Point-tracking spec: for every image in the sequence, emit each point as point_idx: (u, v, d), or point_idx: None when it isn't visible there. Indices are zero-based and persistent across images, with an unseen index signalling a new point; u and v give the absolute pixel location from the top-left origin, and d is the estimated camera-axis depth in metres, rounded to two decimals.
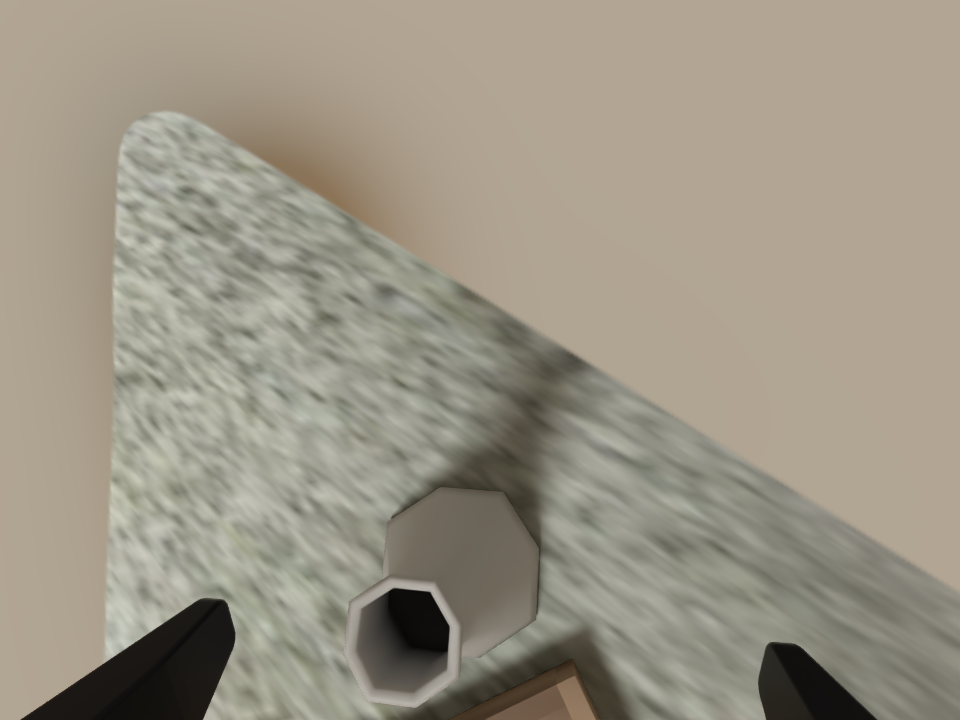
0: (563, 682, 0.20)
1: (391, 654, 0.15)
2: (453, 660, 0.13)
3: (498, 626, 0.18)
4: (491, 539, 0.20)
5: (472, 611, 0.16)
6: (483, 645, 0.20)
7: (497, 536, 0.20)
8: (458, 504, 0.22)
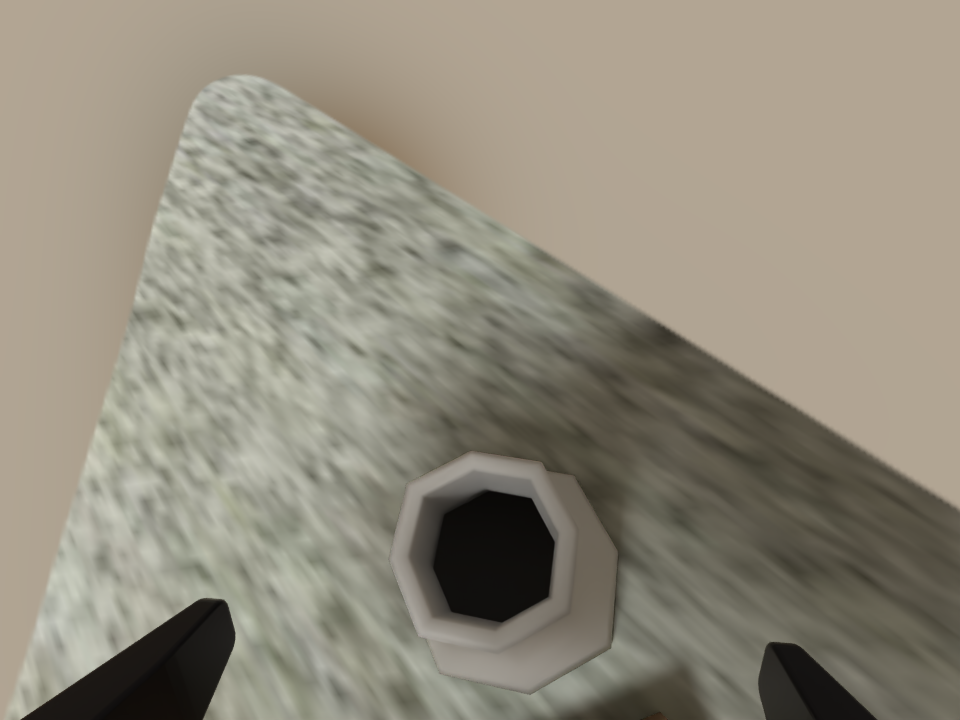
0: None
1: (446, 601, 0.10)
2: (564, 582, 0.08)
3: (580, 621, 0.13)
4: (569, 510, 0.15)
5: None
6: (547, 660, 0.14)
7: (576, 510, 0.15)
8: None
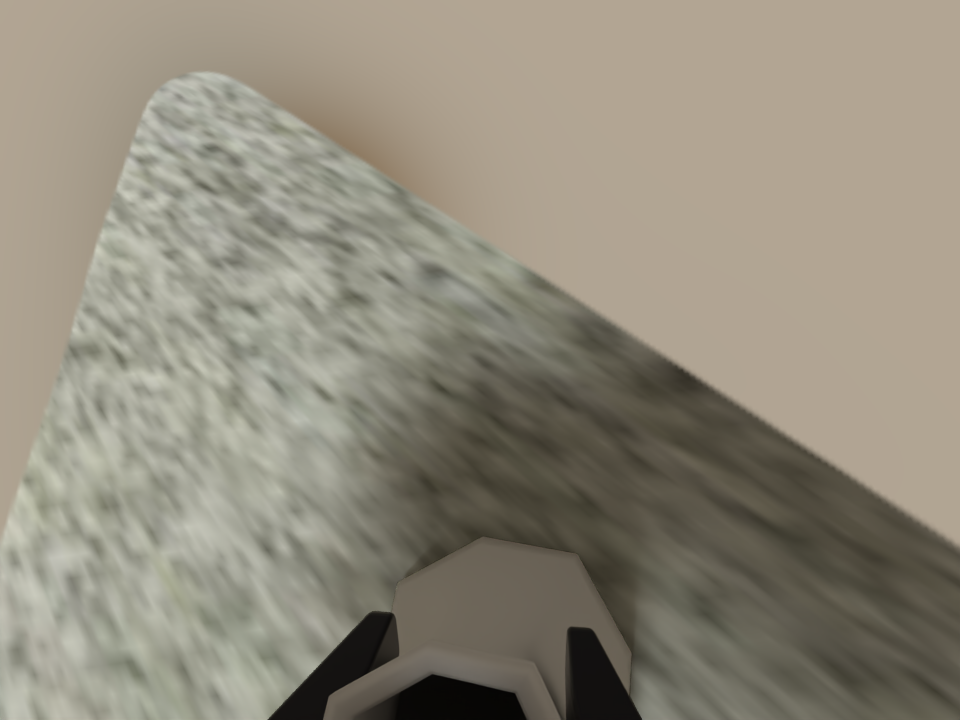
0: None
1: None
2: None
3: None
4: (573, 621, 0.12)
5: None
6: None
7: (580, 618, 0.12)
8: (514, 560, 0.14)
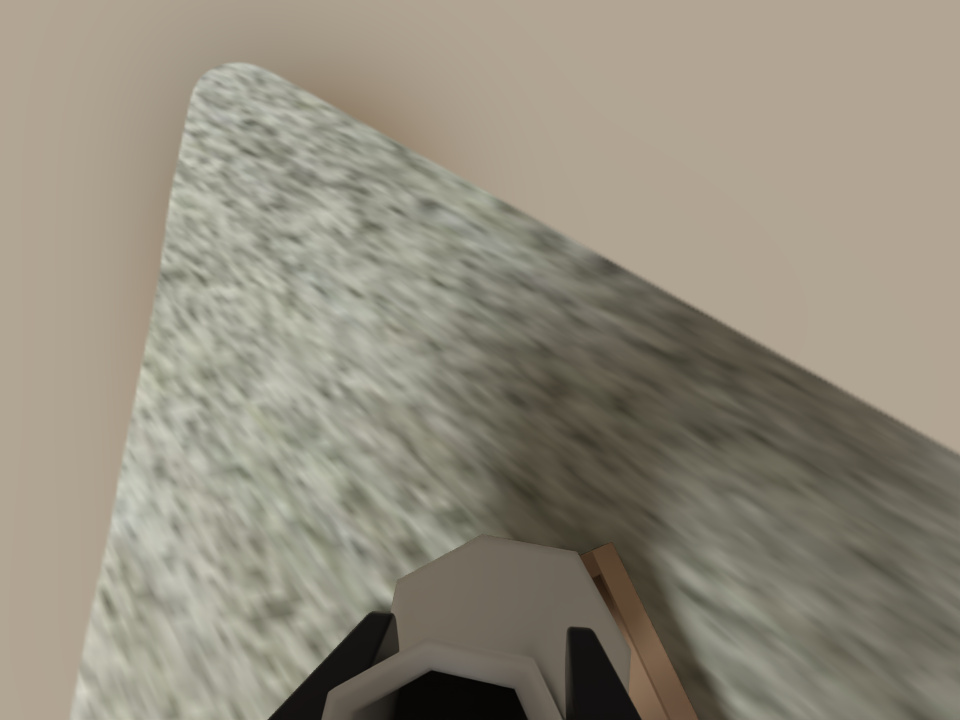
0: (599, 549, 0.19)
1: None
2: None
3: None
4: (572, 618, 0.12)
5: None
6: None
7: (580, 615, 0.12)
8: (514, 558, 0.14)
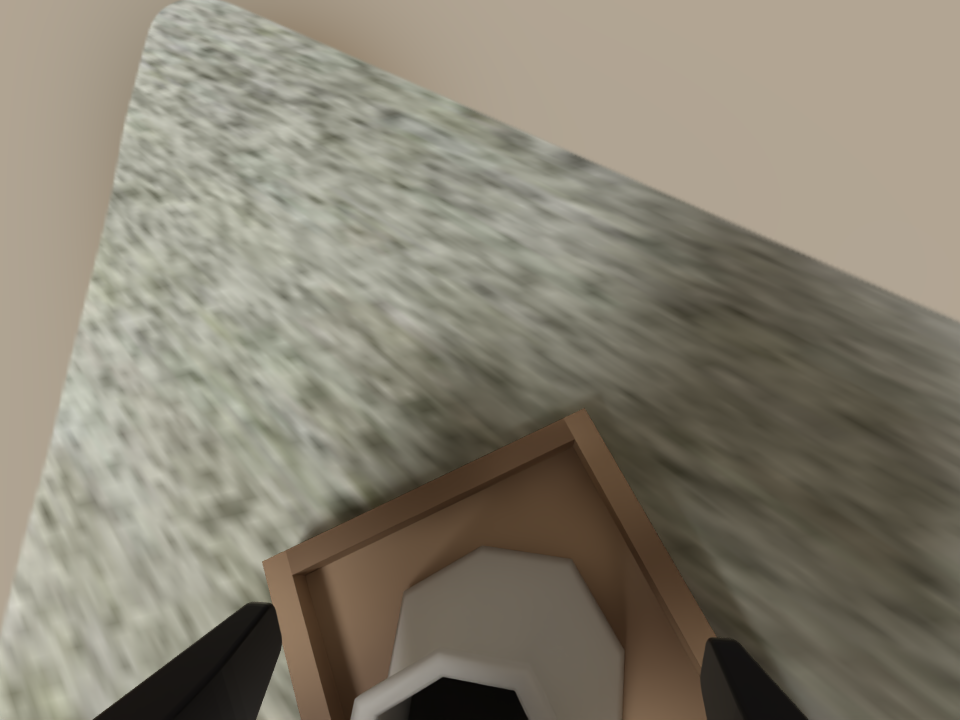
0: (571, 416, 0.17)
1: None
2: None
3: None
4: (568, 623, 0.13)
5: None
6: None
7: (575, 619, 0.13)
8: (513, 568, 0.15)
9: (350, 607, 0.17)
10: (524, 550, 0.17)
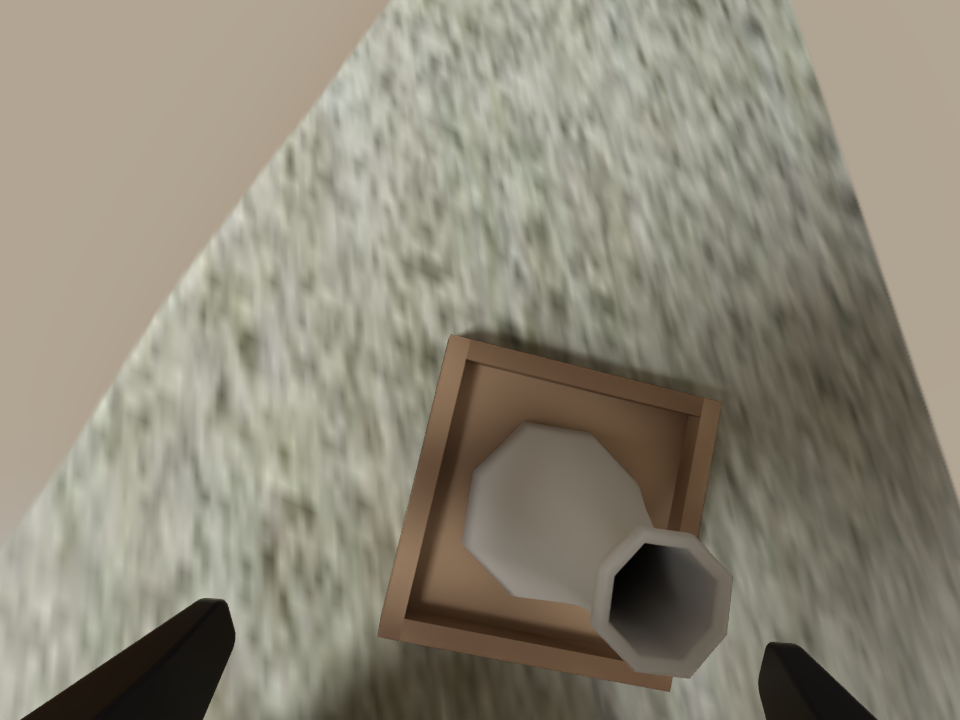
0: (709, 400, 0.21)
1: (582, 583, 0.13)
2: (698, 659, 0.11)
3: None
4: None
5: (648, 596, 0.14)
6: None
7: None
8: (616, 467, 0.20)
9: (480, 403, 0.21)
10: None
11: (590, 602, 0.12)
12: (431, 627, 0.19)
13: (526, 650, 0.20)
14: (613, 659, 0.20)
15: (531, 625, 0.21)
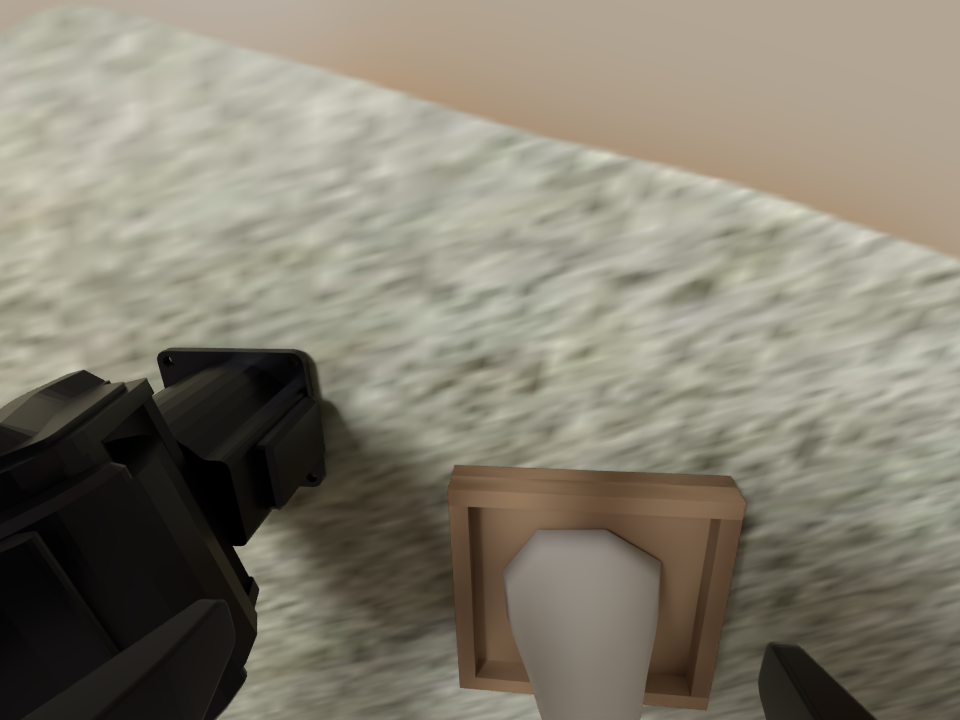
0: (706, 701, 0.24)
1: None
2: None
3: (534, 692, 0.20)
4: None
5: None
6: (519, 633, 0.21)
7: None
8: None
9: (671, 523, 0.22)
10: None
11: None
12: (465, 526, 0.22)
13: (465, 595, 0.23)
14: (474, 652, 0.24)
15: (480, 584, 0.24)
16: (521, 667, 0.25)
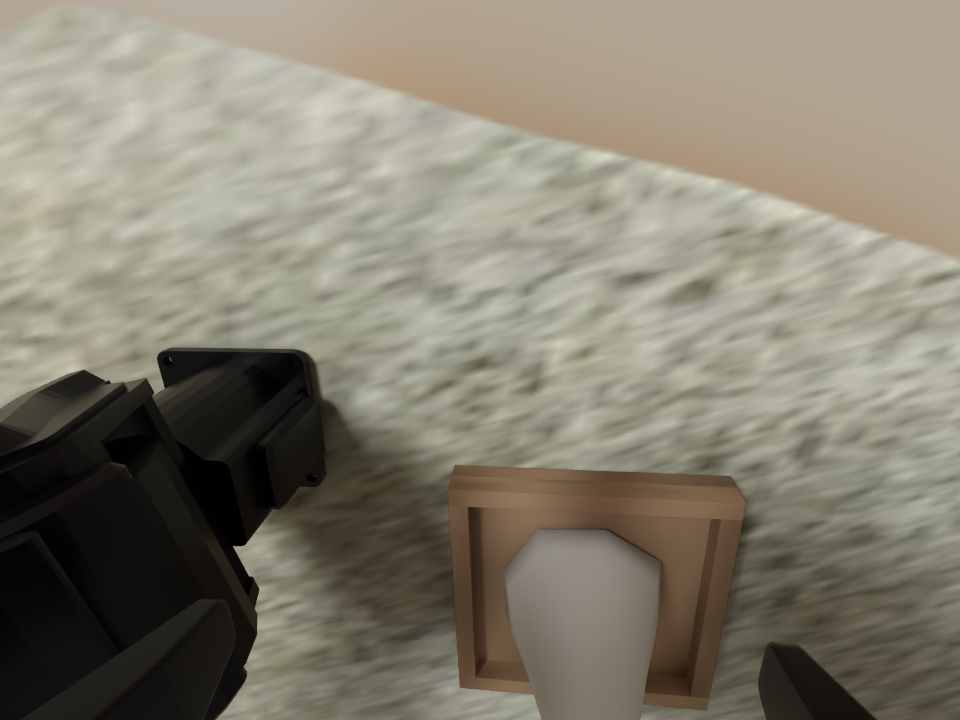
0: (706, 701, 0.24)
1: None
2: None
3: (534, 692, 0.20)
4: None
5: None
6: (519, 634, 0.21)
7: None
8: None
9: (671, 523, 0.22)
10: None
11: None
12: (465, 526, 0.22)
13: (465, 595, 0.23)
14: (474, 652, 0.24)
15: (480, 584, 0.24)
16: (521, 667, 0.25)
